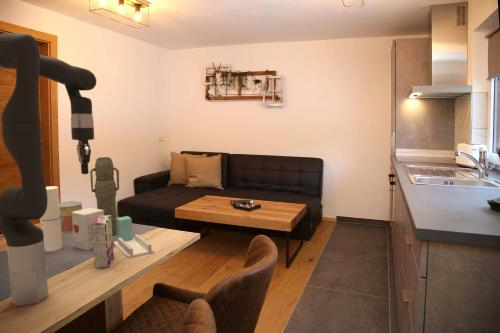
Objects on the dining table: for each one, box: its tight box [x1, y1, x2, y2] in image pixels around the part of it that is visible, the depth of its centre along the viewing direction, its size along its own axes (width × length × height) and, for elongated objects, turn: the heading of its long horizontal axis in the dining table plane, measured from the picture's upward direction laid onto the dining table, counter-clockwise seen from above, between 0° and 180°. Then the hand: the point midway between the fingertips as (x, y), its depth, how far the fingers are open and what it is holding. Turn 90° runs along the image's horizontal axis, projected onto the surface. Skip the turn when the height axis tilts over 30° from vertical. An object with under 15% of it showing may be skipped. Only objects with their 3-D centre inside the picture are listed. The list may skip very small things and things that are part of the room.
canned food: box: [59, 200, 83, 233], centre depth 175 cm, size 11×11×12 cm
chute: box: [113, 233, 155, 259], centre depth 149 cm, size 20×10×3 cm, turn 36°
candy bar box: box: [92, 215, 115, 269], centre depth 134 cm, size 11×5×16 cm, turn 12°
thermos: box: [89, 156, 120, 237], centre depth 165 cm, size 9×12×35 cm
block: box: [116, 215, 133, 241], centre depth 157 cm, size 5×5×9 cm
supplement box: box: [72, 207, 104, 251], centre depth 151 cm, size 9×9×15 cm
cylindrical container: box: [39, 185, 63, 253], centre depth 148 cm, size 7×7×25 cm
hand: (84, 173), depth 135 cm, fingers closed
